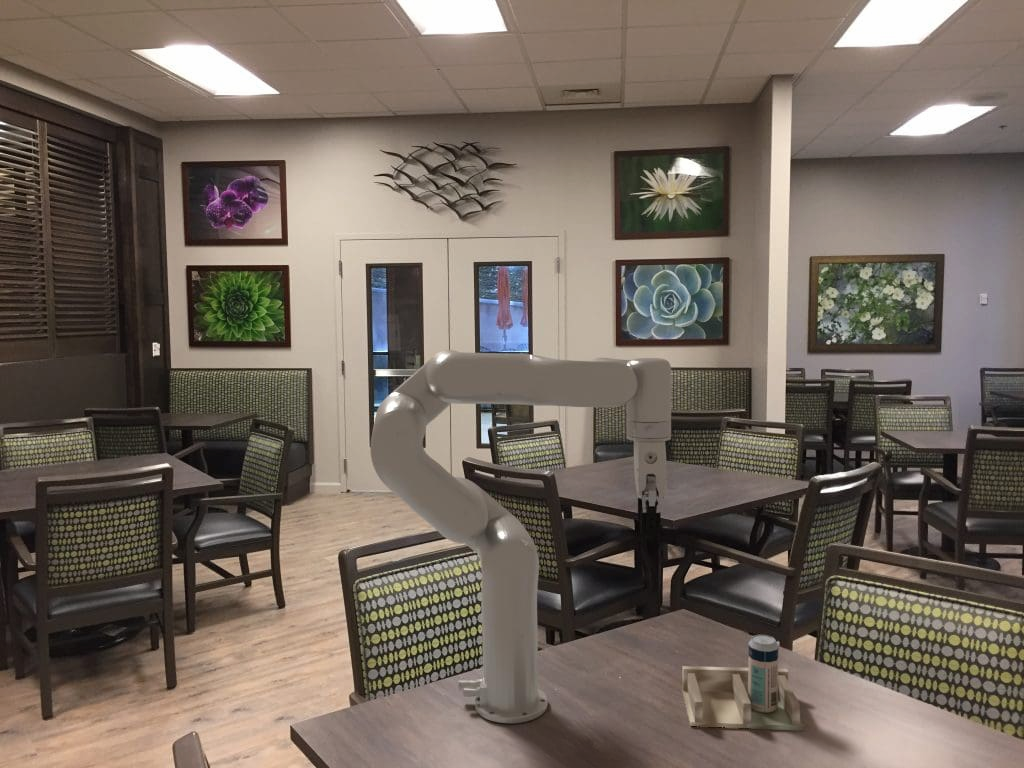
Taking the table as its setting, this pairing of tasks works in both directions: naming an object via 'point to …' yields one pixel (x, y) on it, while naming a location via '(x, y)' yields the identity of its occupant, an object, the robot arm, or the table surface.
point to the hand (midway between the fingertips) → (648, 527)
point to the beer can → (763, 673)
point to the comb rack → (735, 700)
